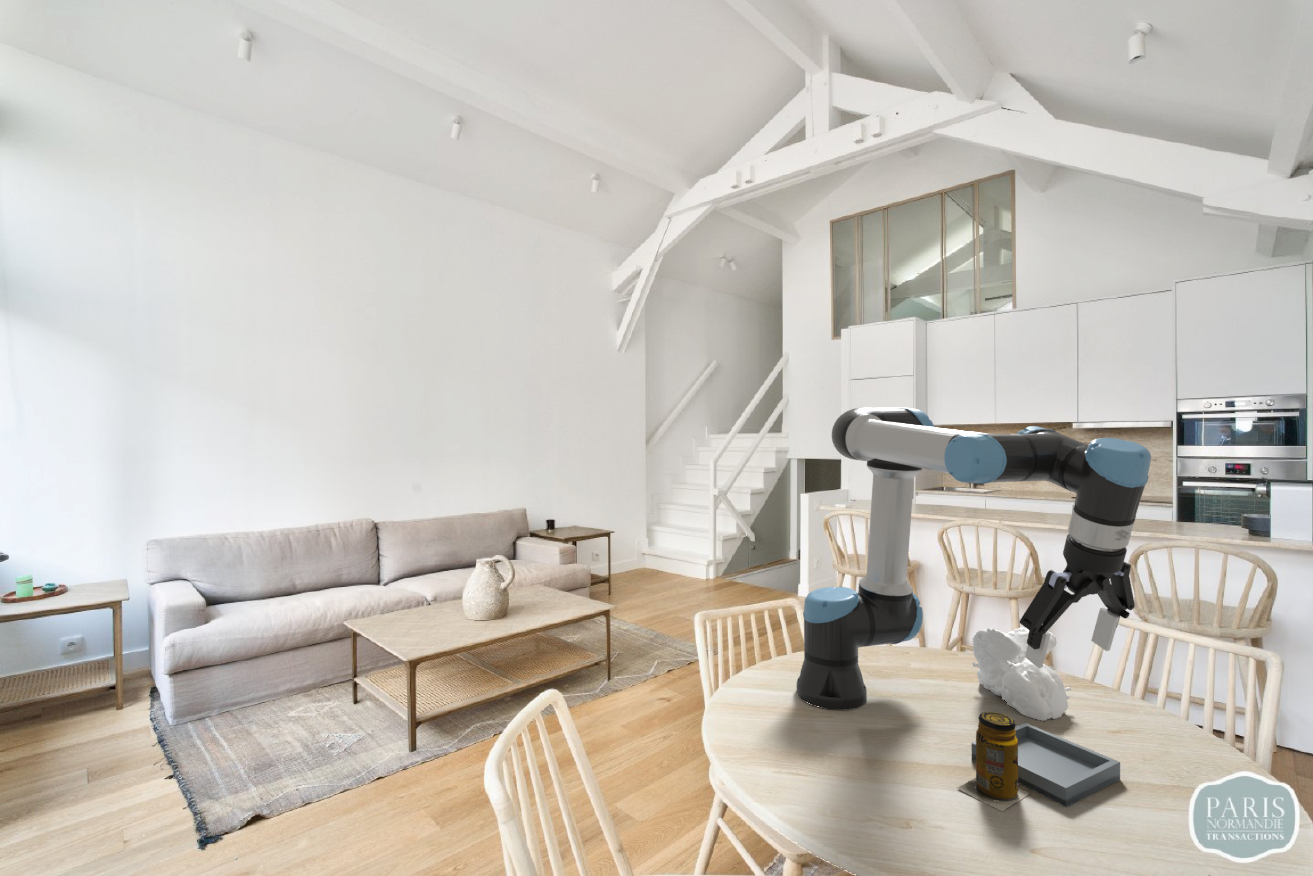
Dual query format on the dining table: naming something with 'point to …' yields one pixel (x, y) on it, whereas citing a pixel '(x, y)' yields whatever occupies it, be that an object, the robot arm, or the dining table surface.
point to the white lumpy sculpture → (1019, 674)
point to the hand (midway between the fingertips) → (1067, 654)
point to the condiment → (996, 762)
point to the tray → (1060, 766)
